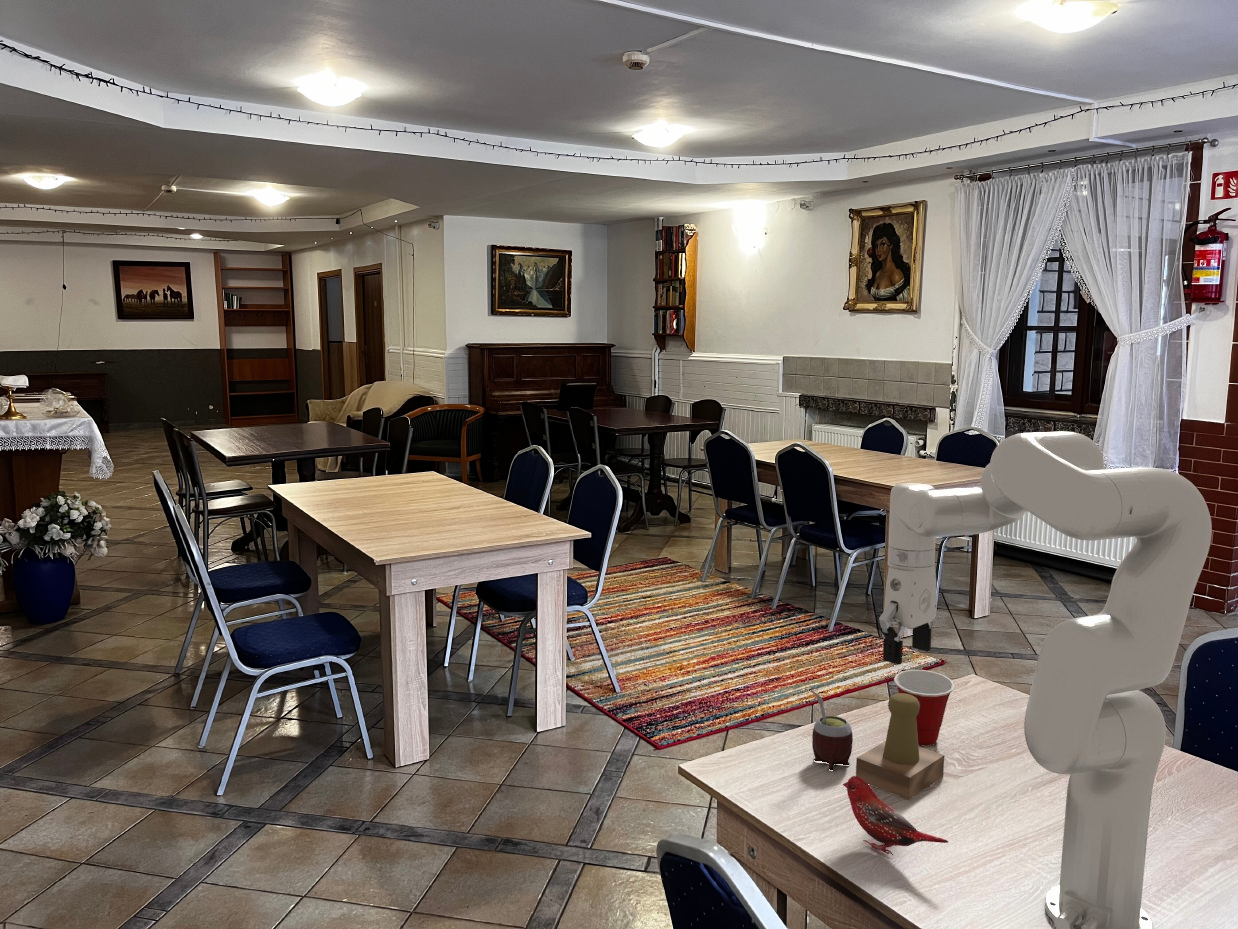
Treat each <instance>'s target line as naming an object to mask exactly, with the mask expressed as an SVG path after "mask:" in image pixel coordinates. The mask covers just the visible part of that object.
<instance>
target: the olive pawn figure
mask: <svg viewBox="0 0 1238 929" xmlns="http://www.w3.org/2000/svg"><path fill="white" fill-rule="evenodd" d="M887 706H888V707H887V708H888V711H889V713H890V717H889V723H888V728H887V733H886V738H885V741H886V743H885V748H884V753H883V756H884V758H886V759H887V760H889V761H891V762H893V763H896V764H902V765H911V764H915V763H917V762H919V747H920V746H919V745H918V735H917V724H916V716H917V715H918V713H919V710H920V704H919V701H918V700H917V698H915V697H914V696H912V695H909V694H904V693H893V694H892V695H891V696H890V697H889V699H888V702H887ZM918 746H919V747H918Z"/></svg>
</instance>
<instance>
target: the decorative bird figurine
mask: <svg viewBox="0 0 1238 929" xmlns="http://www.w3.org/2000/svg"><path fill="white" fill-rule="evenodd" d="M842 786H843V787H844V788H846V792H847V793H846V794H847V797H848V799H849V803H850V806H851V810H852V813H853V815H854V818H855V820H856V821H857V823H858V825H859V826H860V828H862V829H863V831H865V833H866V834H867V835H868V836H870V837H871V838H872V839H874V840H875V841H877V842H878V843H881V844H877V843H875V842H869V841H868V840H865V839H864V840H862V841H863V842H865V843H867V844H868V845H870V846H871V847H872V848H873V849H875V850H878V851H880V852H883V853H885V854H888V855H889V854H891V855H892V856H894V855H895V854H893V852H892V851H891V850H890V849H887V848H892V847H894V846H898V847H899V846H901V847H909V846H911V845H914V844H916V843H919V842H920V843H921V842H929V843H941V844H943V843H944V844H946V843H947V844H948V843H949V840H947V839H945V838H941V837H939V836H934V835H932V834H928V833H925V832H922V831H919V830H917V828H916V827H915V826H914V825H913V824H911V822H909V820H907V819H906V818H905V817H904V816H903V815H902V814H900V813H899V811H897V810H895V809H894V808H892V807H891V806H889V805H888V804H887V803H886V802H885V801H883V800H882V799H881V798H880V797H879V796H878V795H877V794H876V793H875V791H874V790H873V788H872V787H871V785H868V784H867V783H866V782H865V781H864V780H863V779H861V778H860V777H858V776H856V775H853V776H851V777H849V779H848V780H847V782H844V783H843V784H842Z"/></svg>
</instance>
